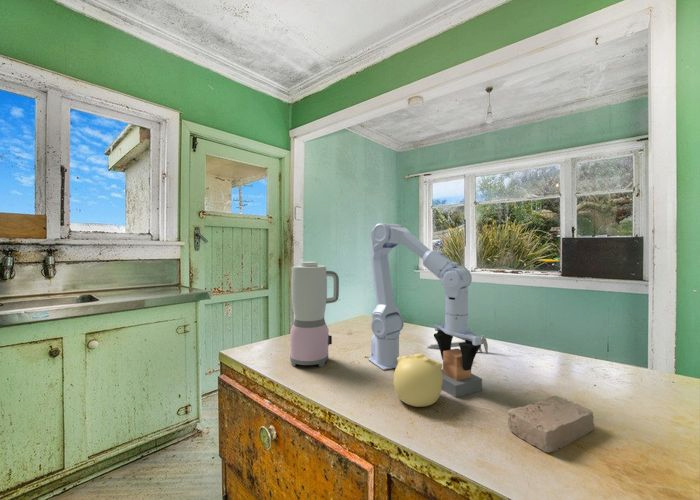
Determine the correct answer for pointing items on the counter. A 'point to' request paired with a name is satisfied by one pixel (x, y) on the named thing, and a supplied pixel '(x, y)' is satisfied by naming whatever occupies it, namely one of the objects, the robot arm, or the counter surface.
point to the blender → (310, 313)
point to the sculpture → (418, 380)
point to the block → (454, 365)
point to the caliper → (456, 344)
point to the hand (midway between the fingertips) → (456, 364)
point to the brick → (551, 423)
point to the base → (461, 385)
